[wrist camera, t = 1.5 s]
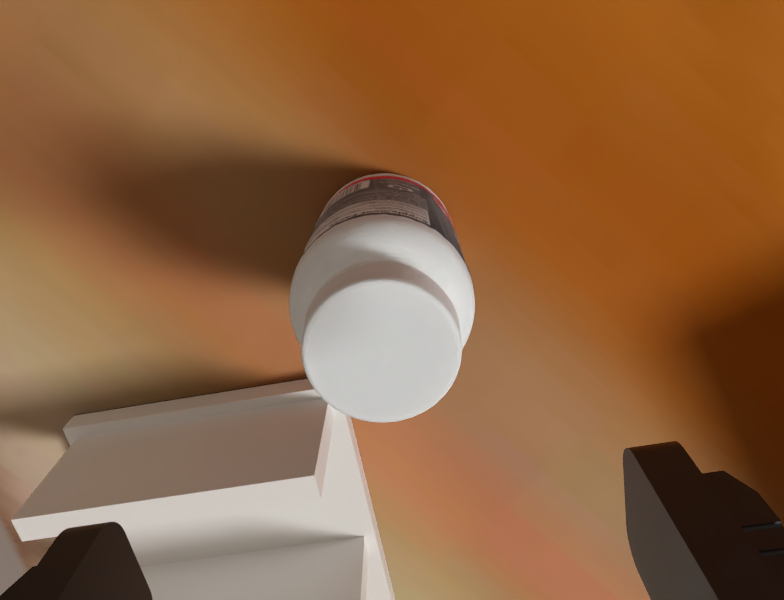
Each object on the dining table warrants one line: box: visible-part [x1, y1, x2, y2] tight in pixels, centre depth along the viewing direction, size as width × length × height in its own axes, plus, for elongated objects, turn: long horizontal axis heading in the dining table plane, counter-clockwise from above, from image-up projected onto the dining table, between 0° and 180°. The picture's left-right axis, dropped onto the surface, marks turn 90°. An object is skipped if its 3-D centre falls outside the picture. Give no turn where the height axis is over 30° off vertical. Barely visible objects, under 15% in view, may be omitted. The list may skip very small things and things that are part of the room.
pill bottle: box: [289, 173, 475, 422], centre depth 20 cm, size 5×5×10 cm
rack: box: [11, 379, 395, 600], centre depth 27 cm, size 17×12×6 cm
